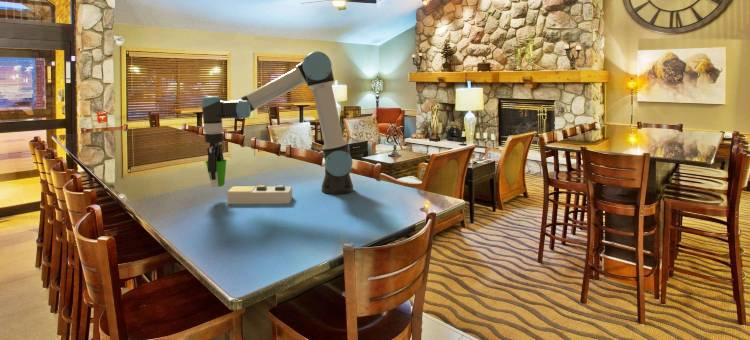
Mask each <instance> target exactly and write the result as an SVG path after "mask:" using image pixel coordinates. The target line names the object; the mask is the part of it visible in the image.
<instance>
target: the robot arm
mask: <svg viewBox="0 0 750 340" xmlns="http://www.w3.org/2000/svg"><path fill="white" fill-rule="evenodd" d="M333 83H335V79H334V73H333V67H332V61H331V59H330V57H329V56H328V55H327V54H326V53H325V52H322V51H317V50H316V51H312V52H309V53H308V54H306V56H305V57H304V59H303V61H301V62H300V63H298V64H297V65H295V68H294V69H291V70H290V71H288V72H286V73H285V74H282V75H280V76H279V77H277V78H275V79H273V80H271V81H270V82H268V83H266V84H264V85H262V86H260V87H258V88H257V89H255V90H253V91H251V92H249V93H247V94H246V95H244V96H241V97H240V98H238V99H234V100H222V99H221V97H220V96H218V95H217V96H216V95H215V96H212V95H211V96H209V95H208V96H203V97H202V98H201V110H202V118H203V125H202V128H204V129H203V130H204V131H203V132H204V133H205V134H204V142H205V143H206V144H209V147H207V148H206V150H207V160H208V169H207V172H210V176H211V180H210V186H211V188H219V187H218V176H217V172H216V165H217V164H216V162H217V161H221V159H225V158H224V153H223V152H224V151H223V144H222V142H224V134H223V131H224V130H223V119H225V120H226V119H248V118H250V117H251V113H252V112H253V111H255V110H257V109H259V108H260V107H262V106H264V105H266V104H268V103H271V102H272V101H274V100H276V99H278V98H279V97H282V96H283V95H286V94H287V93H288V92H291V91H292V90H295V89H297V88H298V87H300V86H302V85H304V84H305V85H307V88H309V89H311V90H312V94H313V100H314V104H315V108H316V112H317V117H318V121H319V122H318V123H319V126H320V131H321V135H322V139H323V142H324V143H323V145H322V147H321V150H322V154H323V160H324V177H323V181H322V184H321V192H322V193H325V194H330V195H341V194H342V195H345V194H349V193H352V192H353V191H354V184H353V181H352V178H351V173H350V171H351V170H352V168H353V164H354V163H353V159H352V156H351V153H350V152H351V151H350V150H351V148H350V144H349V142H348V141H346V140H344V135H343V131H342V126H341V122H340V118H339V113H338V109H337V104H336V99H335V94H334V89H333ZM212 168H213V169H212ZM210 176H209V177H210Z"/></svg>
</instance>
